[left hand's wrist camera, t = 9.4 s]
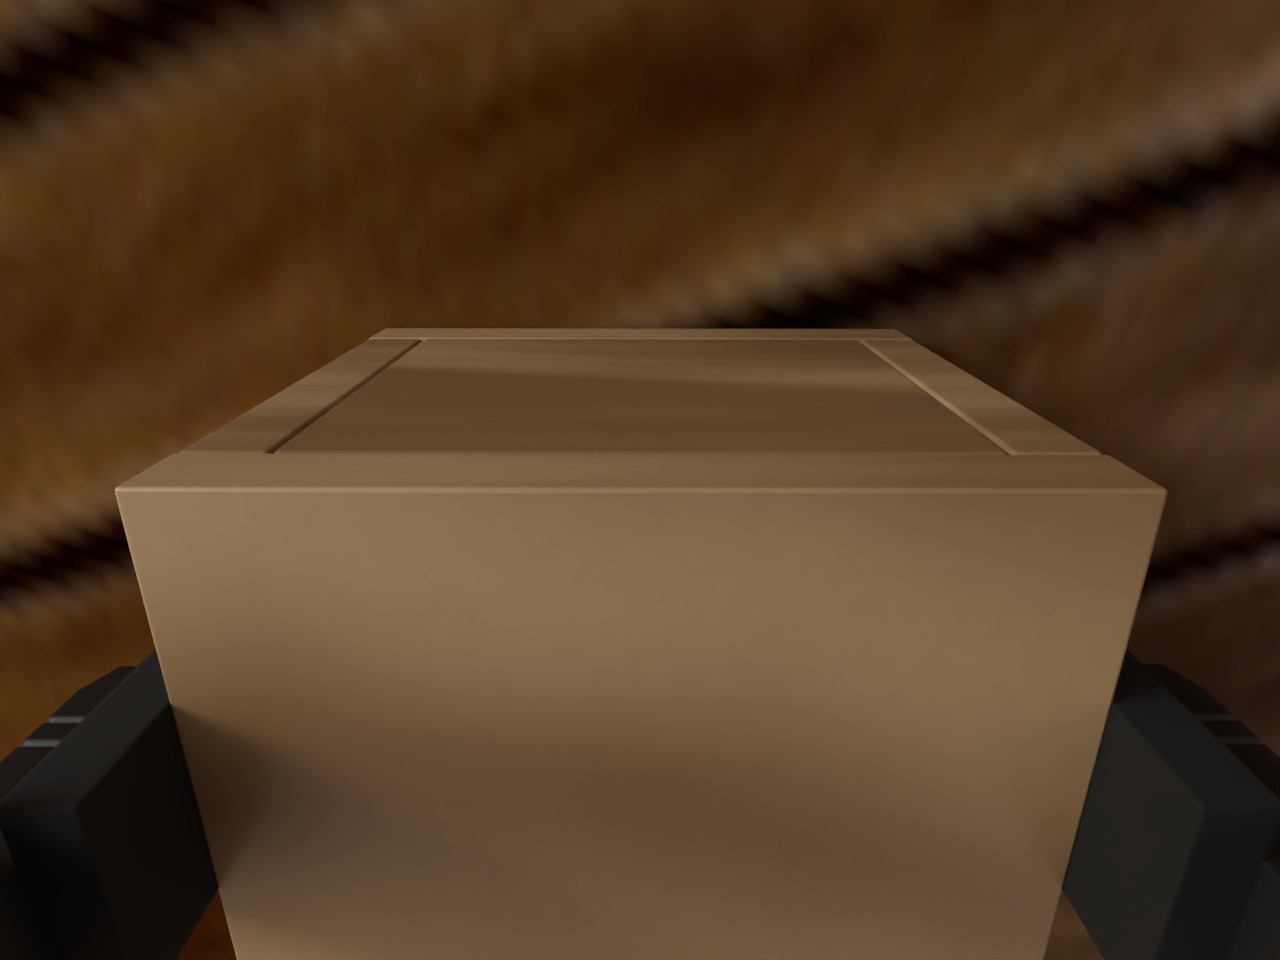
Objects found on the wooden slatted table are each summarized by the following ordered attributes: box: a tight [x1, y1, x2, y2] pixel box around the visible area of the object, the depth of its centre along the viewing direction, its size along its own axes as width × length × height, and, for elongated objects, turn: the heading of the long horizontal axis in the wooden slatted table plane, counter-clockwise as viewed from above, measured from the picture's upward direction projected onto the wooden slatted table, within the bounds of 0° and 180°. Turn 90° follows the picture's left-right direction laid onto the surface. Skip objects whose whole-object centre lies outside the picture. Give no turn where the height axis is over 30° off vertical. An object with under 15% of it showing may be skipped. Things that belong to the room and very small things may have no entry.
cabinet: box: [115, 328, 1167, 960], centre depth 15 cm, size 22×10×9 cm, turn 0°
